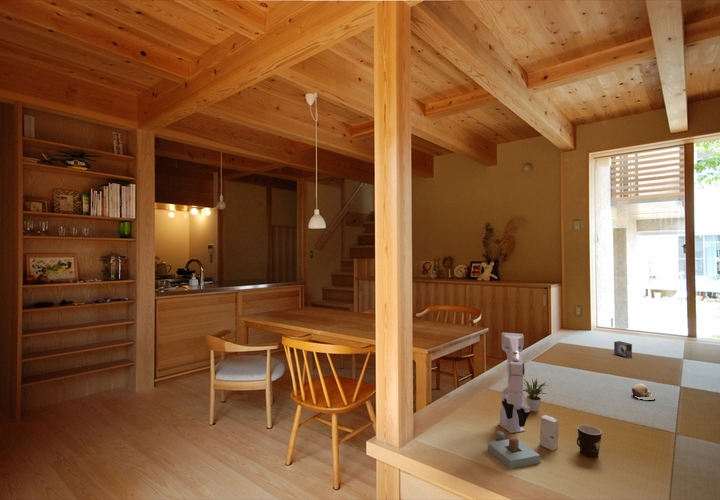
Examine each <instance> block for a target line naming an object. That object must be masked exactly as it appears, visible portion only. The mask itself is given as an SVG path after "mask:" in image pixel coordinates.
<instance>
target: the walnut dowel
mask: <svg viewBox="0 0 720 500" xmlns="http://www.w3.org/2000/svg"><path fill="white" fill-rule="evenodd" d="M515 438H516V437H515ZM515 438H514V437H510V438H509V451H510V452H512V453H515V452H518V451H519V441H520V440H519V439H518V440H519V441H518V440H517V438H516V439H515Z"/></svg>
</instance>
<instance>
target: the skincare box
mask: <svg viewBox="0 0 720 500" xmlns="http://www.w3.org/2000/svg"><path fill="white" fill-rule="evenodd" d="M559 427H560V419H558V418H555V417H552V416H550V415H548V414H543V415H542V416H541V417H540V427H539V429H540V430H539V445H540V446H542V447H544V448H545V449H548V450H550V451H554V450H557V449H558V448H559V447H558V446H559V431H560V430H559V429H560V428H559Z"/></svg>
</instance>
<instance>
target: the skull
mask: <svg viewBox="0 0 720 500" xmlns="http://www.w3.org/2000/svg"><path fill="white" fill-rule="evenodd" d="M631 393H633V395H634V396H637V397H651V396H653V394H651V393H652V392H651V391H650V390H649V388H648V387H647V386H646V385H645V384H644V383H636V384H635V385H633V386H632V387H631ZM634 396H633V397H634Z"/></svg>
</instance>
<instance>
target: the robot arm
mask: <svg viewBox="0 0 720 500" xmlns="http://www.w3.org/2000/svg"><path fill="white" fill-rule="evenodd" d="M524 339H525V338H524V334H523V333H513V332H503V331H502V333H501V349H502V351H504V352H505V354H506V357H507V360H506V361H507V363H506V364H507V387H505V388H504V389H502V390H501V407H500V409H499V422H498V423H497V424H498V426H500V427H501V428H502V429H504V430H506V431H508V432H509V433H511V434H514V433H519V432H520V433H521V432H525V431H526V429H525V428H523V427H525V425H526V422H527V420H528V417H529V415H530V414H531V413H532V411H530V407H529V406H528V404H527V403H525V393H524V391H523V390H524V377H525V373H526V367H525V362H524V361H523V356H522V354H521V353H523V349H524V344H525V343H524V341H525V340H524Z"/></svg>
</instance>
